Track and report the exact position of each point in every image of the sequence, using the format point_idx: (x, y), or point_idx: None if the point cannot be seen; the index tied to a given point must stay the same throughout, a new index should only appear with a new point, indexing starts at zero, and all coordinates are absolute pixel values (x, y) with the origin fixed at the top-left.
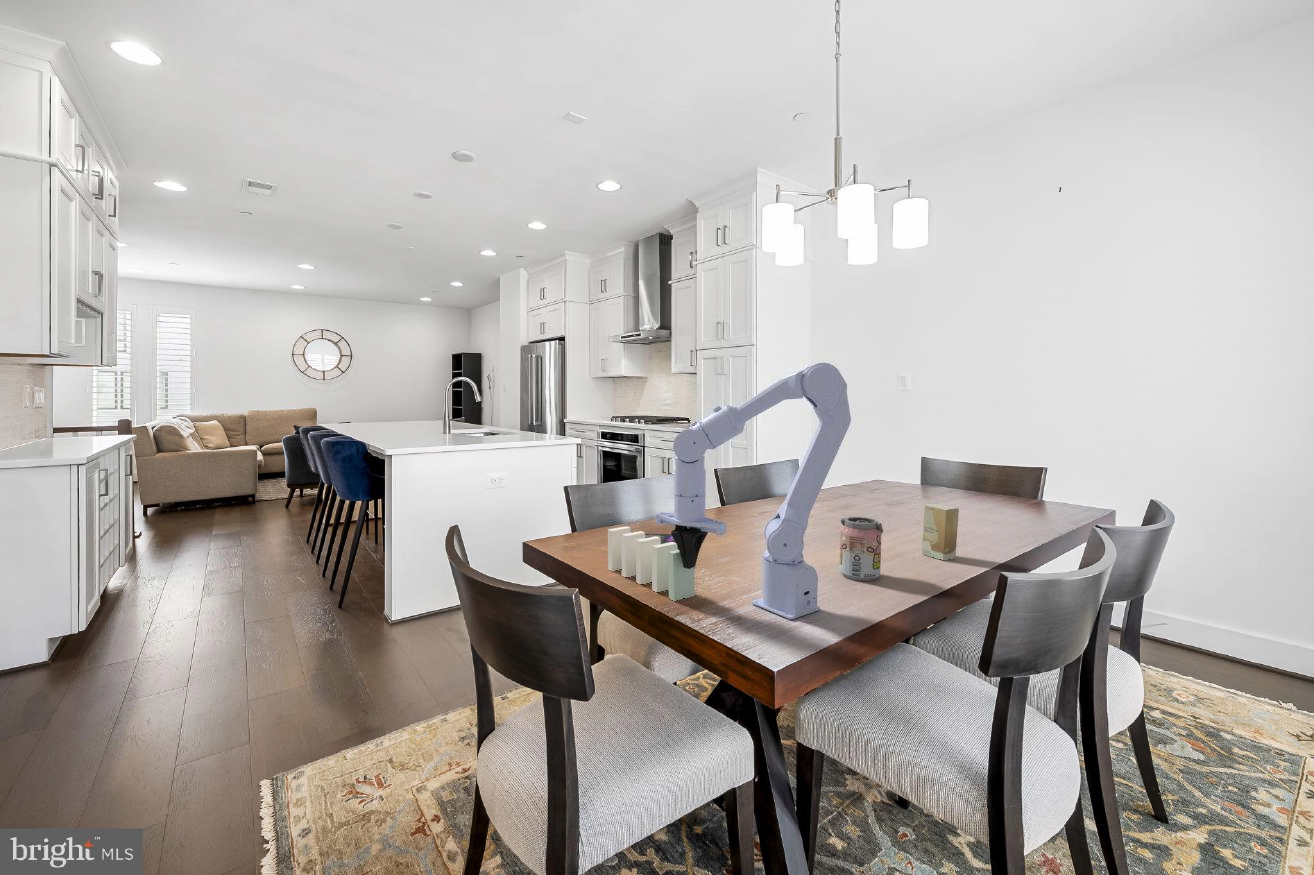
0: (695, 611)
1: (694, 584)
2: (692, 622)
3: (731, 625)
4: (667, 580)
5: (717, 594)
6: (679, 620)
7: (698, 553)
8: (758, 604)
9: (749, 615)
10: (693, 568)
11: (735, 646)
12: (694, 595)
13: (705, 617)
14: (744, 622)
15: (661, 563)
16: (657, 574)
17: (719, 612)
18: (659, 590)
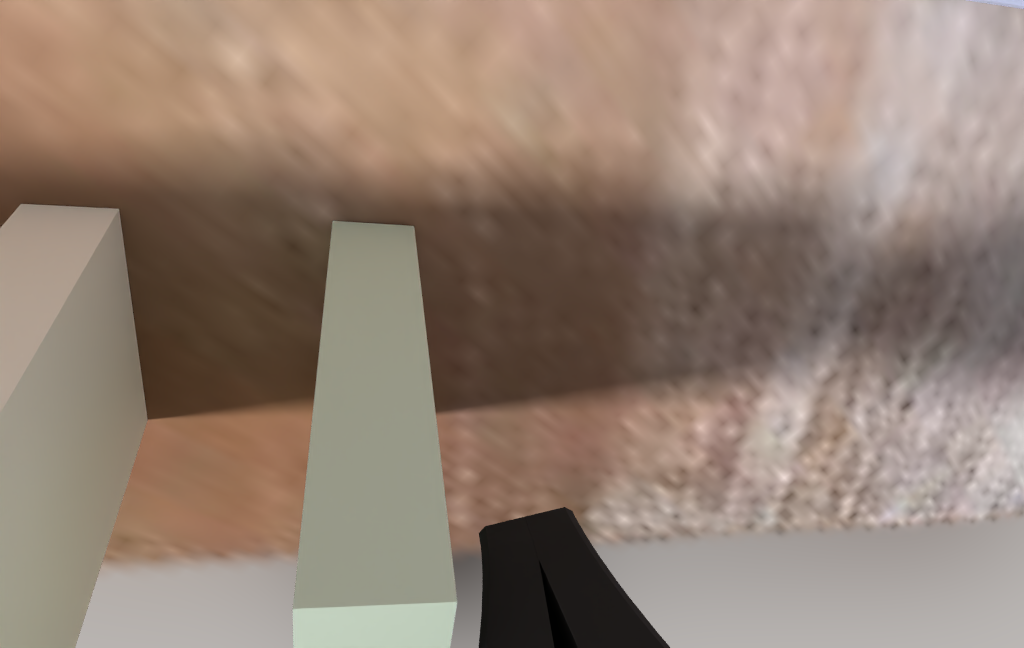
0: (630, 407)
1: (419, 277)
2: (711, 502)
3: (914, 378)
4: (108, 379)
5: (537, 21)
6: (639, 535)
7: (653, 628)
8: (1016, 5)
9: (970, 188)
10: (428, 390)
11: (1005, 500)
12: (412, 228)
13: (734, 416)
14: (971, 296)
15: (63, 608)
16: (105, 548)
17: (769, 305)
18: (138, 408)
